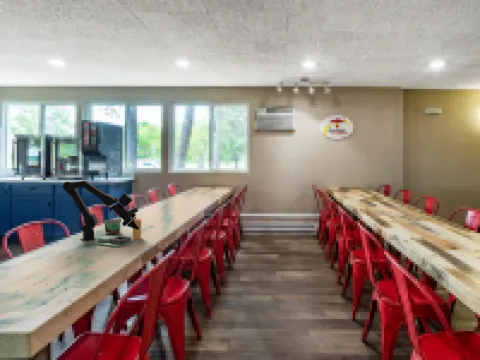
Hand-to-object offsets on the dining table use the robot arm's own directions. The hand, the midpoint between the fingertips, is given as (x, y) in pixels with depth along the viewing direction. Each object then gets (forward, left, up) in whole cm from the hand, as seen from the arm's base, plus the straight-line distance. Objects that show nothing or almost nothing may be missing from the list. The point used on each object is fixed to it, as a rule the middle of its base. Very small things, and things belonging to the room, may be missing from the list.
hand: (139, 228), depth 204 cm
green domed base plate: (-6, -16, -7) cm, 18 cm away
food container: (-23, +1, -7) cm, 24 cm away
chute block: (-1, -1, -7) cm, 7 cm away
